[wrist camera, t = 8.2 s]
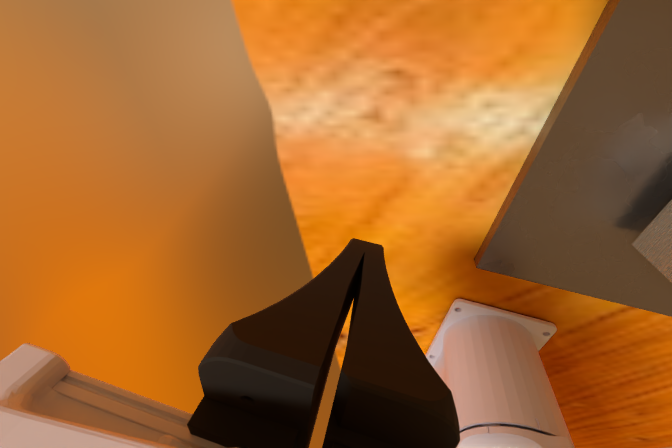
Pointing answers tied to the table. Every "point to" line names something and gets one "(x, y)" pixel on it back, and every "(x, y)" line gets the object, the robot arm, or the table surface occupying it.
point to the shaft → (658, 242)
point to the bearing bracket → (597, 169)
